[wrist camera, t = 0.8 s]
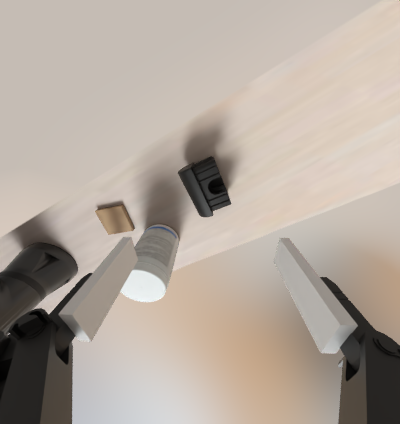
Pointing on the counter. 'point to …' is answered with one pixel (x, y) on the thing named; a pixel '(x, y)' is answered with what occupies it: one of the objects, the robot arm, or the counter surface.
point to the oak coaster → (115, 219)
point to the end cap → (205, 186)
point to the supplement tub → (152, 264)
